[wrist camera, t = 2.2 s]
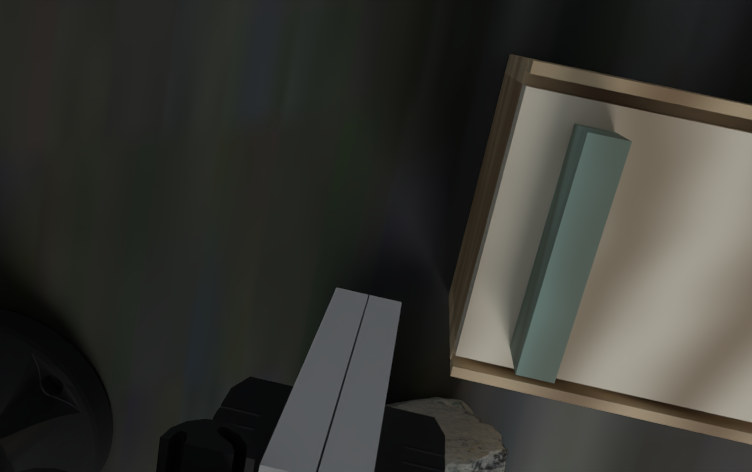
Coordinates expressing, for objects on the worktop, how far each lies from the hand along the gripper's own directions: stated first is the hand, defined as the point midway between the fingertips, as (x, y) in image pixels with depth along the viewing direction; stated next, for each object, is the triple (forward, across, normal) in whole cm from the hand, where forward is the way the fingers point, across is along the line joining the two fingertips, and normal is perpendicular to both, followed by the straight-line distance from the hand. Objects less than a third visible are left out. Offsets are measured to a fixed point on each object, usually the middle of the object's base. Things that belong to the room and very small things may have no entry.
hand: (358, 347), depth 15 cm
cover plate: (+14, +15, 0) cm, 20 cm away
